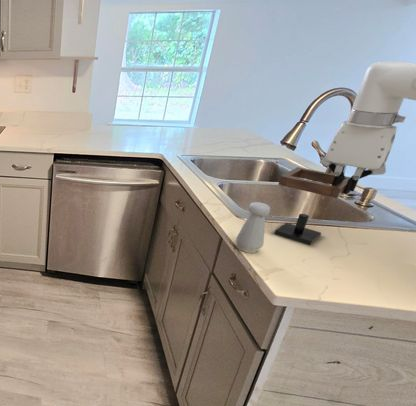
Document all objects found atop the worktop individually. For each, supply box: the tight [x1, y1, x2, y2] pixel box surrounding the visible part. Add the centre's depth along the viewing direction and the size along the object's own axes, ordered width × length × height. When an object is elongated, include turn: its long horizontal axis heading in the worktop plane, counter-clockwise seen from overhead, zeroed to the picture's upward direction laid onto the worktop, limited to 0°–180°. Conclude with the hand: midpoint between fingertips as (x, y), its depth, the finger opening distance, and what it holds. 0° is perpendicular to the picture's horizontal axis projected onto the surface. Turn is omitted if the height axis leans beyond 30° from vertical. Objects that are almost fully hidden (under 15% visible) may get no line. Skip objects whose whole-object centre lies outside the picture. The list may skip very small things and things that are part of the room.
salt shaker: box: [235, 201, 271, 254], centre depth 93 cm, size 6×6×13 cm
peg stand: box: [274, 213, 322, 246], centre depth 101 cm, size 8×8×6 cm
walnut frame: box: [277, 166, 352, 199], centre depth 96 cm, size 12×12×2 cm
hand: (341, 191), depth 92 cm, fingers closed on walnut frame, 1 cm apart
